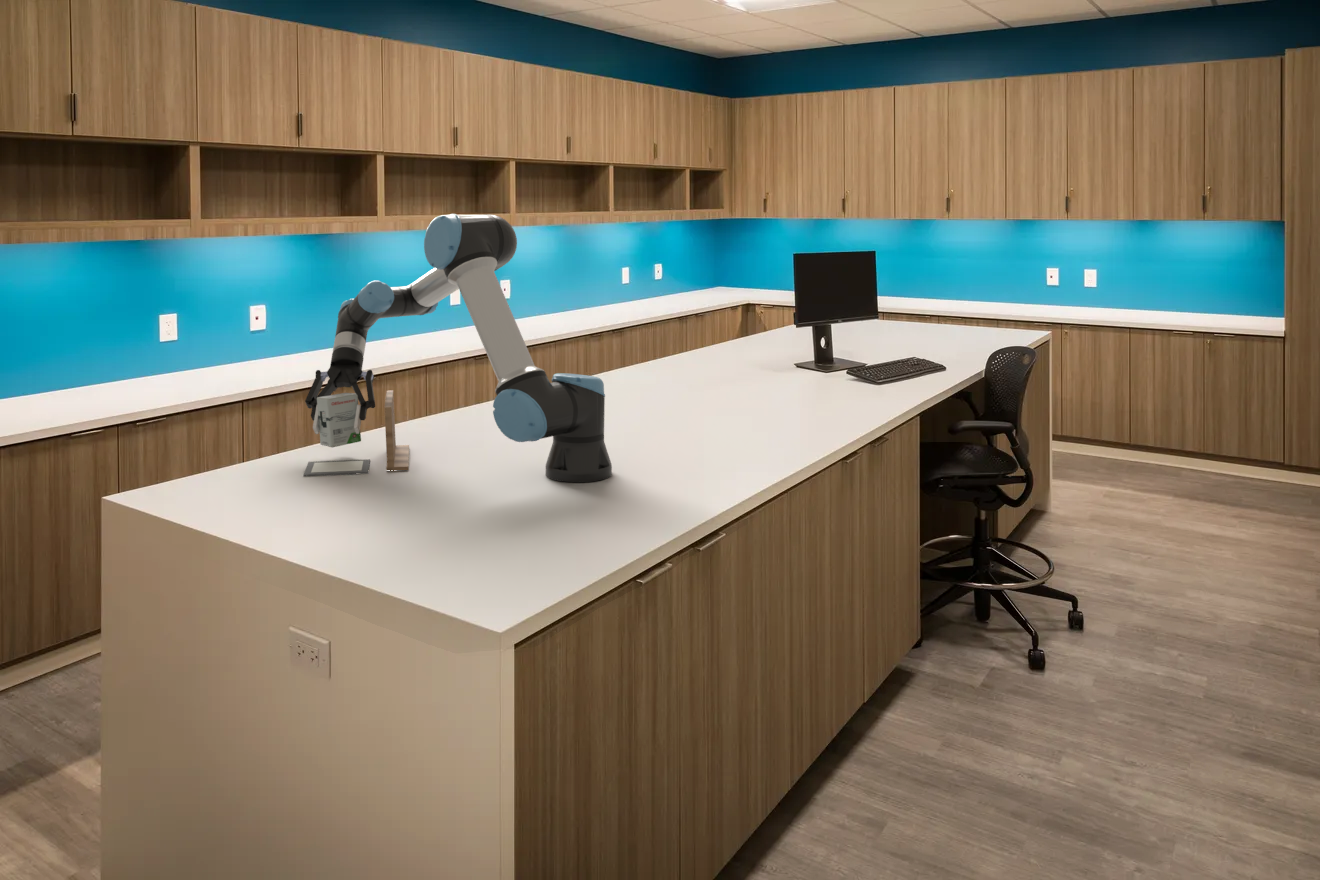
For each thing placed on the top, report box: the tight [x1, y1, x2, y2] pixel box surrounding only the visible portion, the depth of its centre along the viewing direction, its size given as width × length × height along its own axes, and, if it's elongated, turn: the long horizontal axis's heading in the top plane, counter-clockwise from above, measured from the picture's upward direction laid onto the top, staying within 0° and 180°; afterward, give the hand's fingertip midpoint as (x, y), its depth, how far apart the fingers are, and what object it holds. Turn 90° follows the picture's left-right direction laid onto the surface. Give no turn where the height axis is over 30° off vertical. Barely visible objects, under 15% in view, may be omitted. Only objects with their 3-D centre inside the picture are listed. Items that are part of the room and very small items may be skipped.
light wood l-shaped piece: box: [383, 389, 410, 472], centre depth 248 cm, size 22×5×15 cm, turn 13°
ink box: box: [317, 392, 362, 448], centre depth 249 cm, size 9×5×12 cm, turn 141°
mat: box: [303, 458, 371, 477], centre depth 241 cm, size 12×14×1 cm
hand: (336, 430), depth 246 cm, fingers closed on ink box, 9 cm apart
